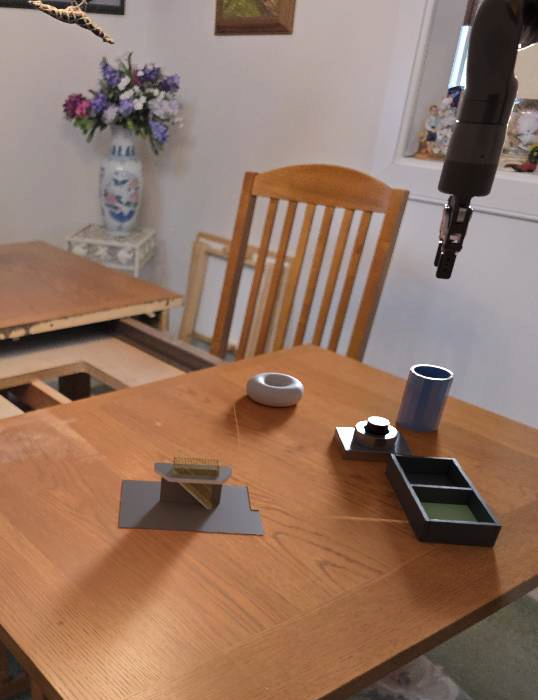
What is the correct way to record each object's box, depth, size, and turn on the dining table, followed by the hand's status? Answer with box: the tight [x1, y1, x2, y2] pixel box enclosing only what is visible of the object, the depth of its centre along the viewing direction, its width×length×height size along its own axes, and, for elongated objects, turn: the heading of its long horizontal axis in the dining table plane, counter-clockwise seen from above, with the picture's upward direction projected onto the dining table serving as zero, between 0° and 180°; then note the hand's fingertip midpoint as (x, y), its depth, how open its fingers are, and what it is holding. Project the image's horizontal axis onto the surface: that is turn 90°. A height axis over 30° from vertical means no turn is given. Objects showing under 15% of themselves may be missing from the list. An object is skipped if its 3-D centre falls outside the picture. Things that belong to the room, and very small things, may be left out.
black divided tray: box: [384, 454, 503, 548], centre depth 94 cm, size 9×18×3 cm, turn 177°
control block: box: [333, 420, 415, 464], centre depth 107 cm, size 10×8×4 cm
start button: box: [365, 416, 391, 435], centre depth 106 cm, size 3×3×2 cm
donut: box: [245, 372, 305, 408], centre depth 122 cm, size 10×4×10 cm
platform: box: [118, 456, 265, 536], centre depth 90 cm, size 12×18×7 cm, turn 88°
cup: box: [395, 364, 455, 434], centre depth 114 cm, size 7×7×9 cm
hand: (441, 272), depth 113 cm, fingers open, 8 cm apart
